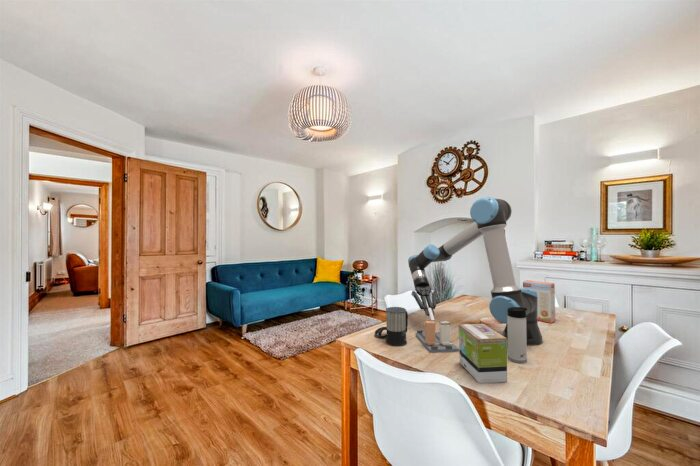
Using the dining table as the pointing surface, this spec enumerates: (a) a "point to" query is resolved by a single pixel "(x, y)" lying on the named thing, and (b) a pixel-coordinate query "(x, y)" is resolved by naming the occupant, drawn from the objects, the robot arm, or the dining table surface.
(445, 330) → the ivory fader tab
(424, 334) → the fader console
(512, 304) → the robot arm
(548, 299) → the cracker box
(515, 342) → the travel mug
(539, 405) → the dining table surface
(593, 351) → the dining table surface
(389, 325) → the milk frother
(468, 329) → the tea box
